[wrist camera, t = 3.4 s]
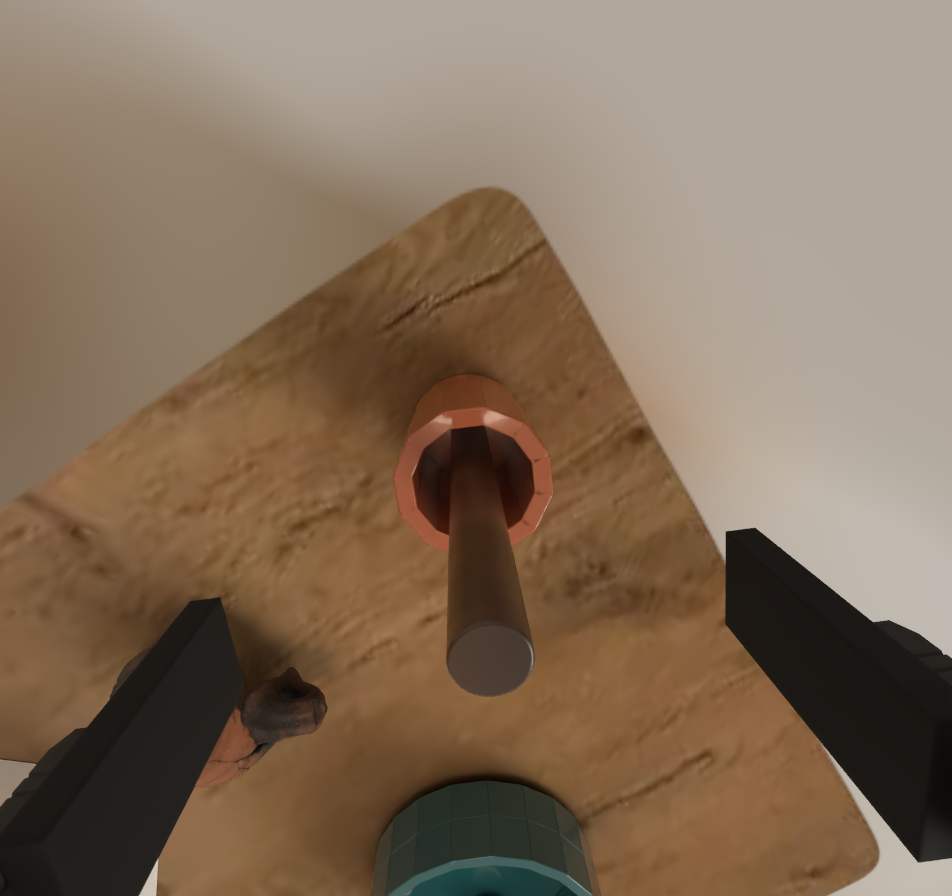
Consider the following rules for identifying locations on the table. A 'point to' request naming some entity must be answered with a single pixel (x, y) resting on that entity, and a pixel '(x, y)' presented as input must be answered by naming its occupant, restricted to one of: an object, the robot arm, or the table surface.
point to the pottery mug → (256, 722)
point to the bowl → (484, 846)
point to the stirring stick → (482, 577)
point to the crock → (429, 457)
